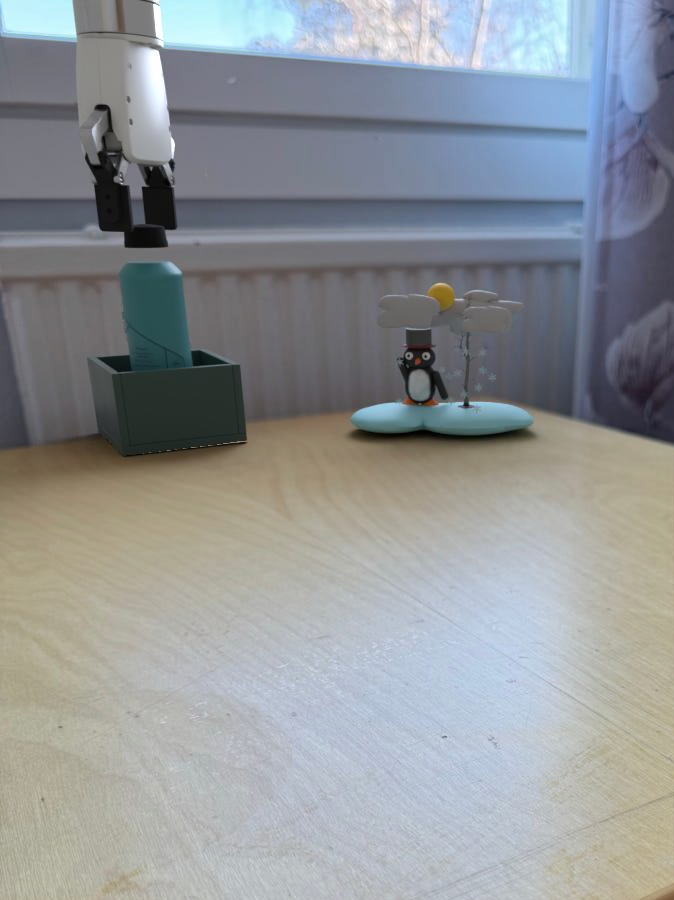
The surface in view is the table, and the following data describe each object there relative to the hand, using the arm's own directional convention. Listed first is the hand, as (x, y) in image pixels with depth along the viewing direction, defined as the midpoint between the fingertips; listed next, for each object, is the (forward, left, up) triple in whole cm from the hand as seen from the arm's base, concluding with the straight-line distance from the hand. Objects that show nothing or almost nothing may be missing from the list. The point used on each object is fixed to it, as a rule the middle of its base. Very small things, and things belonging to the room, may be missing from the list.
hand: (140, 230), depth 98 cm
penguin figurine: (+28, +8, -21) cm, 36 cm away
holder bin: (0, 0, -20) cm, 20 cm away
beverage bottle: (0, 0, -20) cm, 20 cm away
